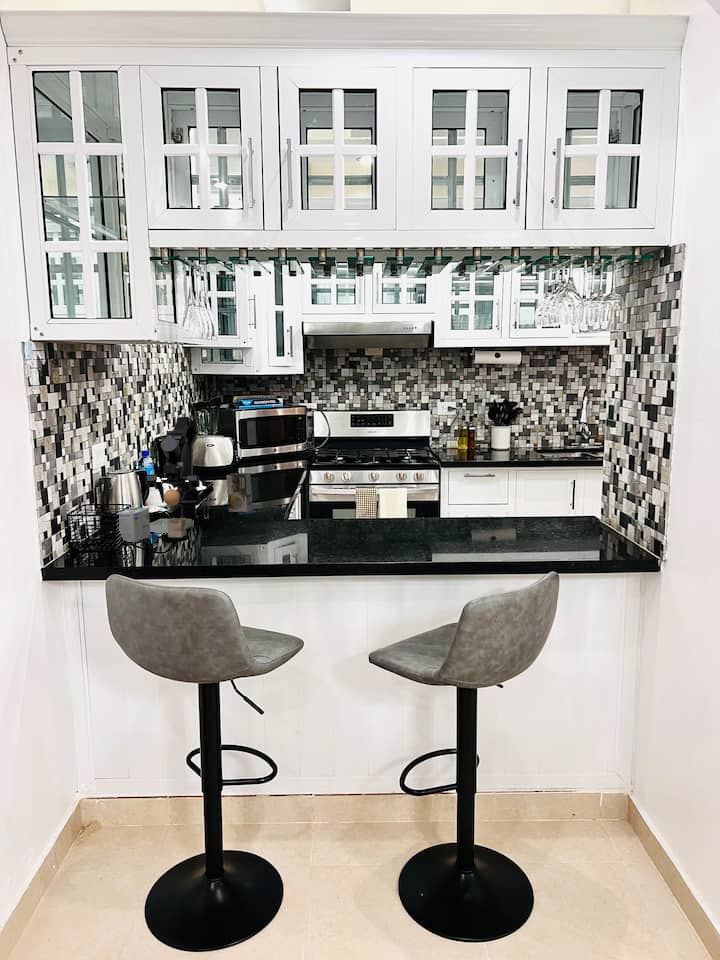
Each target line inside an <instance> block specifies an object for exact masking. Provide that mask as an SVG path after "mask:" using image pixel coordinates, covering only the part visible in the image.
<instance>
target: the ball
mask: <svg viewBox="0 0 720 960" xmlns="http://www.w3.org/2000/svg"><path fill="white" fill-rule="evenodd" d="M176 490H177V489H167V490H166V491H164V497H163V499H164V503H165V504H166V505H167V506H170V507H174V506H177V504H178V503H179V502H180V494H179V492H178V491H176ZM178 505H179V504H178Z"/></svg>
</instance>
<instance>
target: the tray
mask: <svg viewBox="0 0 720 960" xmlns="http://www.w3.org/2000/svg"><path fill="white" fill-rule="evenodd" d="M170 519H171V518H160V519H157V520H155V521H152V522H151V523H150V532H154V533H168V525H167V521H168V520H170ZM192 521H193V520H192V519H186V529H187V530H189V529H190V528H192V527H193V526H192V524H193V522H192ZM162 524H164V525H162ZM191 526H192V527H191Z"/></svg>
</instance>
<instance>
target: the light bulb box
mask: <svg viewBox="0 0 720 960" xmlns="http://www.w3.org/2000/svg"><path fill="white" fill-rule="evenodd" d="M117 514H118V515H119V531H120V534H121V537H122V538H123V540H125V541H127V542H133V543H132V544H136V543H138V541H139V542H141V541H144V540H146V539H149V538H150V537H151V534H150V524H151V523H150V510H149V507H131V508H128V509H126V510H122V511H120V512H119V511H118V512H116V515H117ZM145 538H146V539H145ZM143 539H144V540H143ZM140 540H141V541H140ZM135 542H136V543H135Z"/></svg>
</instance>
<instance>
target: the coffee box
mask: <svg viewBox="0 0 720 960" xmlns="http://www.w3.org/2000/svg"><path fill="white" fill-rule="evenodd" d="M226 487H227V488H226V490H227V505H228V506H227V509H228V513H233V512H234V513H235V512H236V513H249V512H251V511H253V509H254V507H253V491H252V488H253V487H252V473H251V472H231V473H228V474H226Z"/></svg>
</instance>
